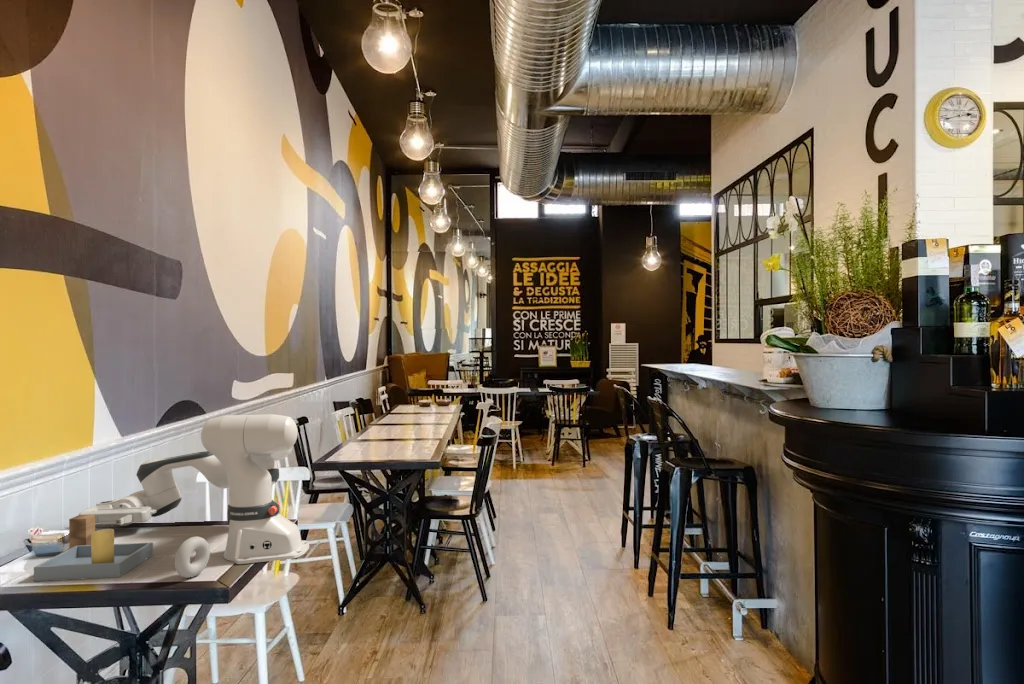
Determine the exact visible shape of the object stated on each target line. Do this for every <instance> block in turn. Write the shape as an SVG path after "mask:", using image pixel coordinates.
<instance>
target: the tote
mask: <svg viewBox="0 0 1024 684" xmlns="http://www.w3.org/2000/svg"><path fill="white" fill-rule="evenodd" d="M153 552H154V544H153V542H152V541H151V542H131V543H130V542H129V543H114V563H96V564H91V545H80V546H74V547H73V548H71V549H70V548H69V549H67V550H65V551H63V552H61V553H59V554H57V555H55V556H53V557H51V558H49V559H48V560H45V561H43V562H41V563H40V564H38V565H35V566H34V567H33V582H45V581H46V582H48V580H51V581H68V580H67V579H72V580H82V579H81V578H93V579H103V578H102V577H114V578H121V577H122V576H124V575H125V574H126V572H127V573H128V572H130V571H131V570H133V569H134V568H135V567H137V566H139V565H140V564H142V563H143V562H144V561H146V560H147V559H149V558H150V557H152V556H153V555H154V553H153ZM152 554H153V555H152ZM151 555H152V556H151ZM149 556H150V557H149ZM148 557H149V558H148ZM146 558H147V559H146ZM145 559H146V560H145ZM142 561H143V562H142ZM139 563H140V564H139ZM136 565H137V566H136ZM133 567H134V568H133ZM123 574H124V575H123ZM120 576H121V577H120Z"/></svg>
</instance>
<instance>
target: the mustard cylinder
mask: <svg viewBox="0 0 1024 684" xmlns="http://www.w3.org/2000/svg"><path fill="white" fill-rule="evenodd" d="M114 544H115V529H113V528H102V529H98V530H95V531H94V532H92V533H91V564H96V563H114Z"/></svg>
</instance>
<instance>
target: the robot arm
mask: <svg viewBox="0 0 1024 684" xmlns="http://www.w3.org/2000/svg"><path fill="white" fill-rule="evenodd" d="M298 434H299V431H298V426H297V424H296V422H295V420H294V419H293V418H292V417H291V416H288V415H281V414H275V413H263V414H261V413H260V414H258V413H257V414H225V415H220V416H215V417H211V418H209V419H208V420H207V421H206V422H205V423H204V425H203V427H202V429H201V432H200V440H201V443H202V446H203V448H204V449H205V450H206V451H198V452H194V453H193V452H192V453H188V454H183V455H182V454H180V455H177V456H176V455H175V456H170V457H165V458H161V457H160V458H154V459H153V458H152V459H150V460H147V461H145V462H143V463H141V464H140V465H139V466H138V467H139V468H138V469H137V472H136V478H137V479H138V481H139V484H140V485H141V487H142V490H138V491H135V492H133V493H131V494H129V495H126V496H124V497H122V498H120V497H119V498H117V499H115V500H109V501H108V500H107V501H101V502H97V503H96V504H95V505H94V506H92V507H89V508H86V509H84V510H82V511H81V512H79V513H78V515H95V526H96V525H115V526H116V525H117V526H121V527H125V526H126V527H127V526H129V525H132V524H142V523H146V522H148V521H149V520H151V518H152V517H153V518H155V517H161V516H162V515H164V514H166V513H169V512H170V511H172V510H174V509H175V508H177V507H178V506H179V504H180V503H181V501H182V499H183V497H182V495H181V491H180V489H179V486H178V484H177V481H176V478H175V476H174V473H173V470H175V469H180V468H186V467H191V468H194V469H196V470H198V472H200V473H201V474H202V475H203V477H204V478H206V481H208V482H209V484H211V485H213V486H215V487H217V488H220V489H228V494H229V495H228V497H229V504H228V505H227V514H226V515H227V517H226V518H227V525H228V530H227V532H228V533H227V540H226V544H225V545H226V546H225V549H224V553H223V558H224V559H225V560H227V561H231V562H234V563H235V564H237V565H244V564H253V563H254V564H255V563H265V562H272V561H283V560H292V559H297V558H299V557H302V556H303V555H304V554H306V553H307V552H308V551H309V549H310V542H309V541H308V540H303V539H302V537H301V532H300V528H299V526H298V525H297V524H296V523H294V522H293V521H291V520H289V519H288V518H287V517H285V516H283V514H281V513H280V507H281V502H280V501H279V502H276V501H275V500H273V497H272V496H273V493H272V490H273V489H272V486H273V485H274V484H276V483H277V482H278V480H279V479H280V469H279V467H278V461H281V460H284V459H286V458H287V457H288V456H289V455H290V454H291V453H292V451H293V449H294V445H295V444H296V443H297V439H298V436H299V435H298Z"/></svg>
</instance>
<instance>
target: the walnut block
mask: <svg viewBox="0 0 1024 684" xmlns="http://www.w3.org/2000/svg"><path fill="white" fill-rule="evenodd" d="M68 523H69V526H68V527H69V528H68V531H69V549H71V548H73V547H74V546H80V545H91V533H92V532H94V531H96V525H95V515H79V514H78V515H76V516H73V517H71V518H69V519H68Z"/></svg>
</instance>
